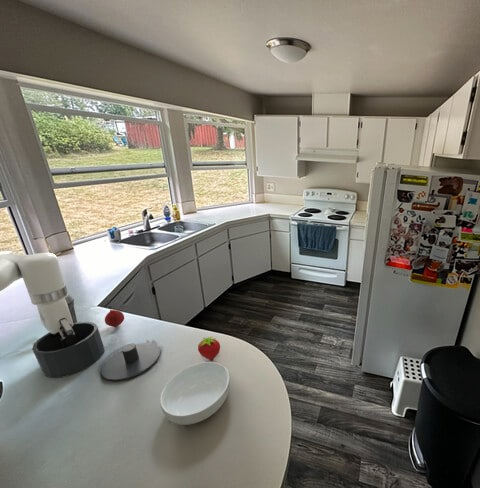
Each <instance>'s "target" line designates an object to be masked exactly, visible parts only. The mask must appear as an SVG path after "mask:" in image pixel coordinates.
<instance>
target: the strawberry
mask: <svg viewBox="0 0 480 488" xmlns="http://www.w3.org/2000/svg"><path fill="white" fill-rule="evenodd" d="M220 350H221V344H220V341H219V340H217V338H215V337H214V338H213V336H212V335H211V336H210V337H209V336H208V337H206V336H205V337H202V340H200V342H198V345H197V351H198V353H199V354H200V356H202V357H203V358H205V359H207V360H209V361H213V360H214V359H215V358H216V357H217V356H218V354H219V353H220V352H221V351H220Z"/></svg>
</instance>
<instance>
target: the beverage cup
mask: <svg viewBox="0 0 480 488" xmlns="http://www.w3.org/2000/svg"><path fill="white" fill-rule="evenodd" d="M65 300H66V303H67V305H68V308H69V311H70V314H71V317H72V320H73V324H74V323H78V319H77V314H76V310H75V302H74V301H75V299H74V298H73V296H72V295H71V294H69V293H68V296H67V297H66V298H65Z"/></svg>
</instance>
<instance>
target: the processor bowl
mask: <svg viewBox="0 0 480 488" xmlns="http://www.w3.org/2000/svg"><path fill="white" fill-rule="evenodd" d="M72 329H73V331H74V333H75V335H76V338H77V341H78V343H76V344H74V345H72V346H69V347H67V348H63V345H62V342H61V340H60V339H62V338H61V336H57V337H55V338H52V336H51V333H50V332H49V331H48V332H47V333H46V334H44V335H42V336H41V337H39V338H38V339H37V340H36V341H35V342H34V343H33V345H32V348H31V350H32V352H33V354H34V356H35V358H36V361H37V363H38V366H39V367H40V369H41V372H42V373H43V375H44V377H47V378H50V379H58V378H59V379H60V378H63V376H65V377H68V376H71V375H74V374H77V373H79V372H82V371H83V370H85V369H87V368H89V367H91V366H92V365H93V364H95V363H96V362H97V361H99V359H101V357H102V356H103V355H104V352H105V345H104V342H103V340H102V336H101V334H100V329H99V327H98V325H97V324H96V323H95V322H92V321H79V322H78V321H77V323H74V324H73V326H72ZM63 335H64V334H63ZM67 375H68V376H67Z"/></svg>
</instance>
